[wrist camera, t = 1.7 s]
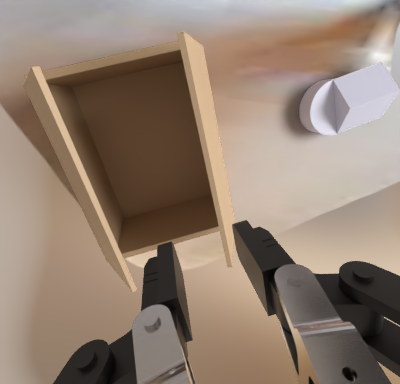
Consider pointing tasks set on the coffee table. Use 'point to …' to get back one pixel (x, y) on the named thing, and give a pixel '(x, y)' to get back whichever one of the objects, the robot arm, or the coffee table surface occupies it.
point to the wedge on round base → (347, 100)
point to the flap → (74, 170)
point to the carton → (138, 145)
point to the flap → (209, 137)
